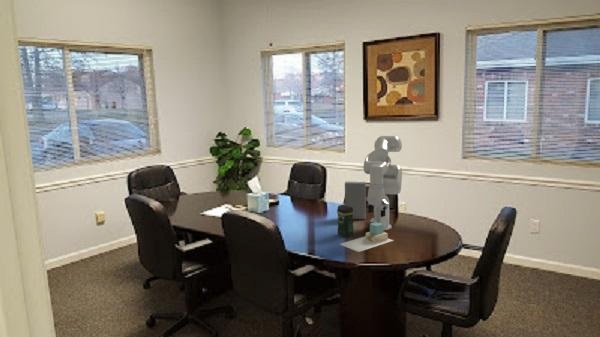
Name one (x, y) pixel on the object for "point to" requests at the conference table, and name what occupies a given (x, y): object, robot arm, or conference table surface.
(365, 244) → the felt mat
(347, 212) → the coffee jar
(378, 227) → the teal cube
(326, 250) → the conference table surface
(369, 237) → the maple block
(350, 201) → the cassette tape recorder
